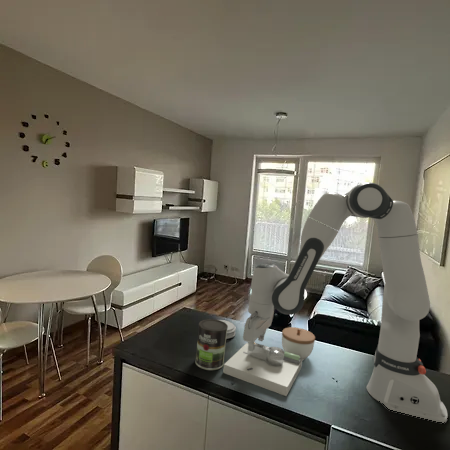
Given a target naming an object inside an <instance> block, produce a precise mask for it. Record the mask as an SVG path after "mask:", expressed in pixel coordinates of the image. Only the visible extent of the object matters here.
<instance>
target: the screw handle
mask: <svg viewBox="0 0 450 450" xmlns="http://www.w3.org/2000/svg"><path fill="white" fill-rule="evenodd" d="M254 345H255V349H254V350H253V351H250V350H249V349H248V352H247V355H250V356H253V357H256V358H259V359H262V360H265V361H266V362H267V363H268V364H270V365H272V366H282V365H283V361H284V353H285V352H284V349H283V348H280V347H276V346H270V347H269V346H268V345H267V346H266V345H264V344H260V343H256V342H254ZM248 348H249V345H248Z"/></svg>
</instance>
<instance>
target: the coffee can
mask: <svg viewBox="0 0 450 450" xmlns="http://www.w3.org/2000/svg"><path fill="white" fill-rule="evenodd" d="M219 320H220V319H213V318H212V319H211V318H207V319H206V318H205V319H202V320H201V321H199V323H198V333H197V340H196V341H197V343H196V353H195V362H194V363H195V365H196V366H197V367H198V368H200V369H202V370H206V371H216V370H217V371H218V370H220V369H221V368H223V367H224V364H225V362H224V361H225V352H226V342H227V339H226V335H227V328H228V326H227V324H226V323H224V322H222V321H219Z"/></svg>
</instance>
